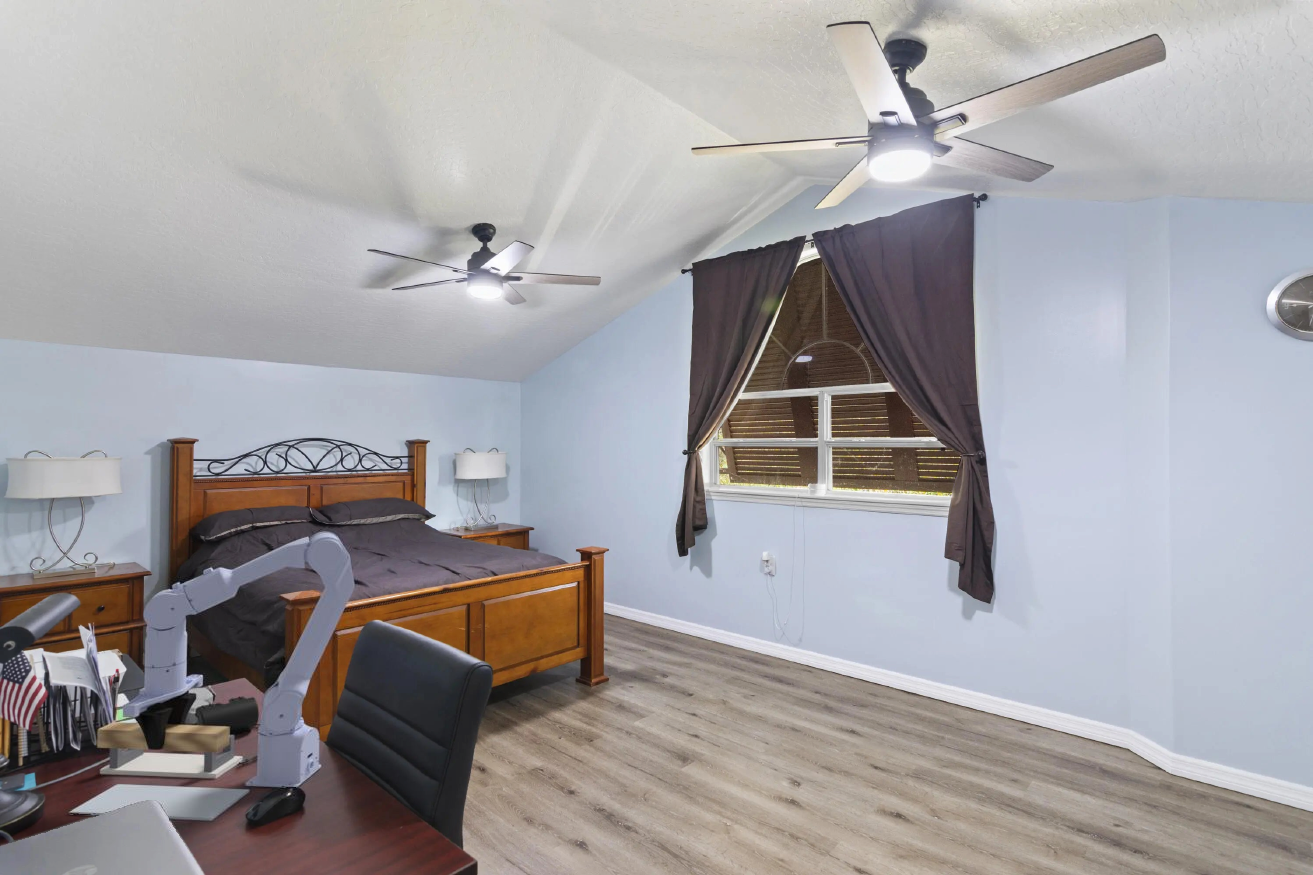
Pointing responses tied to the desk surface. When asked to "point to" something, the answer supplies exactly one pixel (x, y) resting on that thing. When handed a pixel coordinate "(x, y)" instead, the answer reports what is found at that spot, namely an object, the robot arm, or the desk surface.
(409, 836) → the desk surface
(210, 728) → the oak rail
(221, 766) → the hook rack
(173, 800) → the rubber mat
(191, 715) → the robot toy
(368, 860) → the desk surface
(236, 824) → the desk surface
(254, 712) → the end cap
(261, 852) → the desk surface
